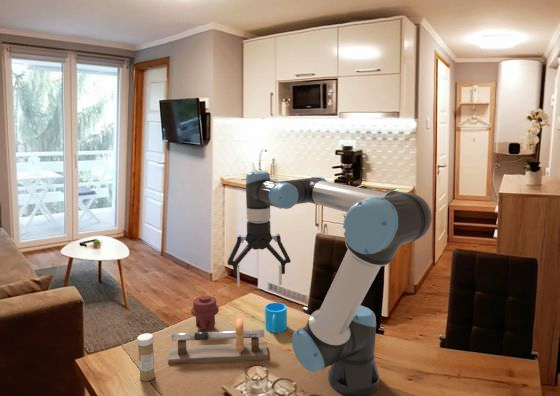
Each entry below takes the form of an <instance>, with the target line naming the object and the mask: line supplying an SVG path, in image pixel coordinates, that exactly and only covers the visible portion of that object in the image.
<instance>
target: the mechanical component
mask: <svg viewBox="0 0 560 396" xmlns="http://www.w3.org/2000/svg"><path fill="white" fill-rule="evenodd" d="M192 302H193V306H192V307H191V312H190V313H191V315H192V316H194V317H195V327H196V328H197V330H198V331H197V332H207V331H212V330H214V329H215V325H216V315H217V314H218V313H219V306H218V305H217V299H216V298H215V296H211V295H201V296H199V297H195V298H194V299H193V301H192Z"/></svg>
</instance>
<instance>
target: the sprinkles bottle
mask: <svg viewBox="0 0 560 396" xmlns="http://www.w3.org/2000/svg"><path fill="white" fill-rule="evenodd" d="M136 342H137V343H136V344H137V346H138V347H137V348H138V367H139V369H138V370H139V379H140V380H141V381H143V382H147V381H151V380H153V379H154V378H155V377H156V373H155V353H154V352H155V351H154V336H153V334H152V333H142V334H140V335H138V336H137V338H136Z"/></svg>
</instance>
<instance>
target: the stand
mask: <svg viewBox="0 0 560 396" xmlns="http://www.w3.org/2000/svg"><path fill="white" fill-rule="evenodd" d="M250 339H251V341H250V343H247V342H246V343H244V349H243V351H242V352H238V351H237V350H236V343H227V344H226V343H225V344H223V343H222V344H206V345H204V344H203V345H202V344H201V345H199V344H198V345H187V341H177V346H176V345H175V346H171V348H170V351H169V355H168V358H167V364H168V365H170V364H172V365H173V364H190V363H192V364H193V363H213V362H214V363H215V362H217V363H218V362H234V361H235V362H236V361H256V360H257V361H260V360H268V359H269V357H268V356H269V354H268V346H267V342H260V341H259V340H260V339H259V338H250Z"/></svg>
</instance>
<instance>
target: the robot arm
mask: <svg viewBox="0 0 560 396" xmlns="http://www.w3.org/2000/svg"><path fill="white" fill-rule="evenodd" d="M245 200H246V201H245V204H246V220H247V222H246V235H245V236H244V235H241V234H238V235H237V238H236V243H235V244H234V247H233V249H232V251H231V253H230V255H229V256H228V259H227V265H228V266H232V267H233V276H234V277H236V282H237V284H236V285H237V287H241V286H240V284H241V283H240V282H241V280H240V278H241V277H240V263H241V262H242V260H243V259H245V257H246V256H247V255H248V254H249V252H250V251H251V250H255V251H256V250H265V249H267V250H268V251H269V252H270V253H271V254H272V255H273V257H274V258H275V259H276V260H277V261H278V285H279V286H282V285H283V281H282V280H283V277H282V275H285V274H286V264H290V263H291V260H292V259H291V258H290V256H289V255H288V253H287V250H286V248H285V247H284V245H283V243H282V240H281V239H282V238H281V235H280V233H276V234H274V235H272V233H271V207H274V208H278V209H285V210H289V209H292V208H293V207H294V206H296V205H301V204H306V203H307V204H308V203H310V204H314V205H318V206H322V207H326V208H330V209H333V210H336V211H341V212H343V213H344V212H345V213H346V214H345V217H344V219H343V223H342V224H343V225H342V226H343V227H342V228H343V229H344V232H343V236H344V239H345V240H344V241H345V246H346V248H347V250H346V252H345V255H344V257H343V259H342V261H341V264H340V265H339V268H338V270H337V272H336V274H335V276H334V278H333V281H332V282H331V285H330V287H329V289H328V291H327V293H326V295H325V297H324V300H323V302H322V304H321V306H320V308H319V309H316V310H315V311H313V312H312V313H311V315H310V316H309V318H308V319H307V322H306V325H305V326H303V327H302V328H301V327H300V328H298V329H296V330H295V331H294V332H293V333H292V337H291V344H292V345H291V346H292V350H293V352H294V356H295V357H296V359H297V361H298V362H299V364H300V365H301V366H302V367H303V368H304V369H305V370H306V371H308V372H311V373H316V372H319V371H322V370H325V369H326V368H328V367H329V369H328V373H327V374H328V375H327V377H328V378H327V380H328V383H329V385H330V386H331V387H332V388H333V389H334V390H335V391H336V392H339V393H340V394H343V395H347V396H369V395H372V394H373V393H375V392H376V391H377V390H378V389H379V387H380V380H381V379H380V372H379V369H378V367H377V363H376V361H375V360H376V359H375V350H376V348H375V347H376V334H377V333H376V329H377V321H376V320H377V319H376V314H375V312H374V311H373V310H371V308H369V307H366V306H364V305H362V303H363V301H364V299H365V297H366V295H367V293H368V291H369V289H370V288H371V286H372V284H373V282H374V281H375V279H376V276H377V275H378V273H379V271H380V269H381V268H382V267H384V266H385V267H386V266H388V265H389V264H390V263H392V261H393V259H394V257H395V256H396V253H397V252H398V250H399V248H400V247H401V246H403V245H405V244H409V243H413V242H415V241H417V240H420V239H422V238H423V237H424V236H425V235H426V234H427V233H428V231H429V230H430V228H431V225H432V221H433V220H432V219H433V214H432V210H431V207H430V205H429V204H428V202H427V201H426V200H425V198H423V197H421V196H420V195H418V194H415V193H411V192H404V191H398V190H390V191H389V190H388V192H383V191H377V190H374V189H373V190H372V189H367V188H363V187H357V186H352V185H349V184H348V185H346V184H342V183H337V182H332V181H328V180H327V179H326V178H325V177H322V176H320V177H318V176H311V177H308V178H297V179H289V180H280V181H279V180H271V174H270V172H269V171H257V170H256V171H249V172H248V173H246V176H245ZM245 241H246V243H247V244H246V246H244V249H242V251H241V252H240V253H239V255H238V256H237V257H236V255H237V253H238V251H239V249H240V246H241V244H243V243H244V242H245ZM271 241H274V243H275V242H276V243H277V246H278V248H279V250H280V251H281V253H282V255H283V257H284V258H283V257H282V256H281V255H280V253H279V252H277V250H276V249H275V248H274V247H273V246H272V245H271ZM235 257H236V258H235Z"/></svg>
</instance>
